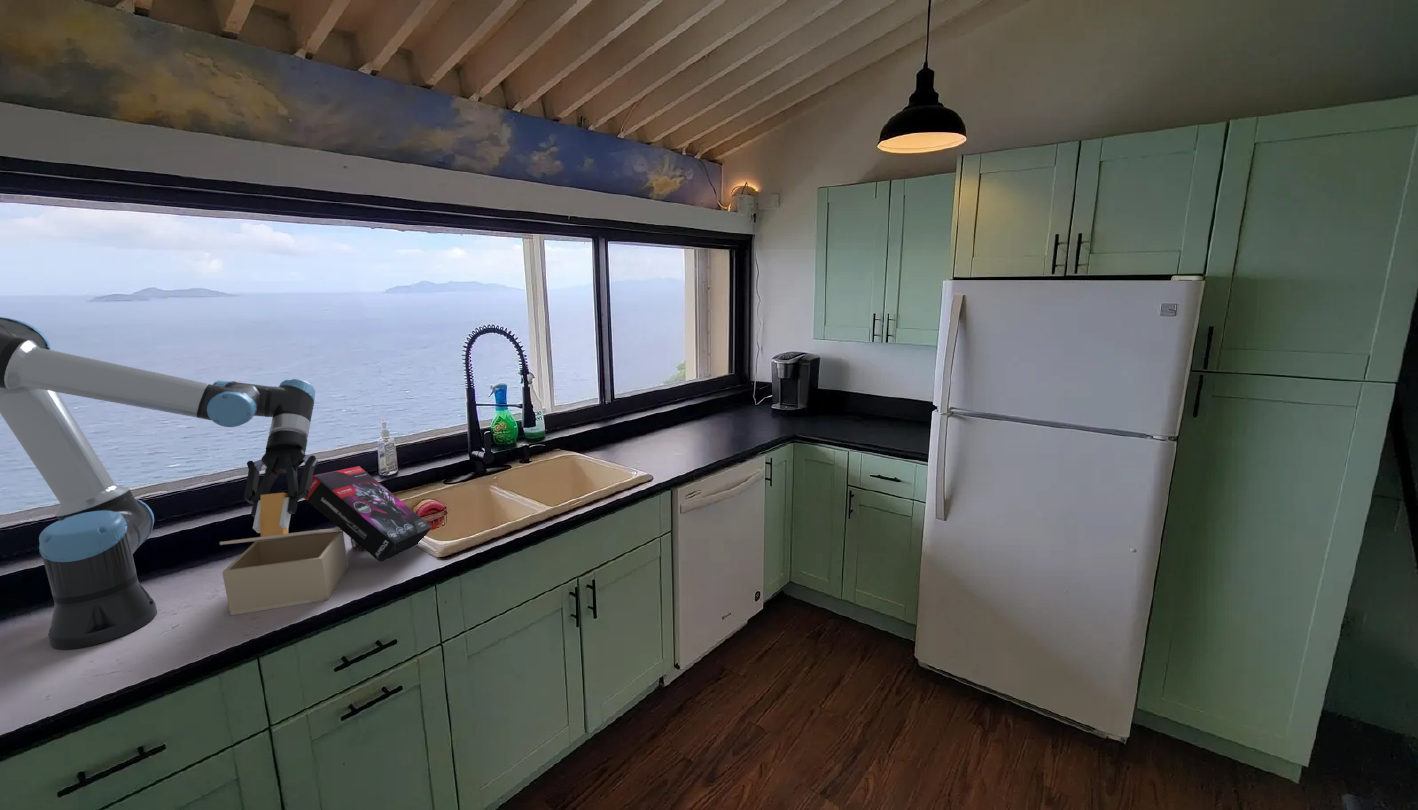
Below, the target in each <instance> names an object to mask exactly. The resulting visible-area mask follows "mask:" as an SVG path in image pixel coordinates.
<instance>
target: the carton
mask: <svg viewBox="0 0 1418 810" xmlns="http://www.w3.org/2000/svg"><path fill="white" fill-rule="evenodd" d="M346 551H347V549H346V543H345V537H344V532H343V531H342V530H341V531H333V532H325V533H317V534H309V535H301V536H293V537H285V538H277V539H269V540H261V541H253V543H252V544H251V545H250V546H249V547H248V548H247V549H245V551H243V552H242V553H241V554H240V555H239V556H238V557H237V558H236V559H235V560H234V561H232V562H231V563H230V564H229V565H228V566H227V567H226V568H225V569H224V570H223V571H222V572H221V574H222V578H223V584H224V589H225V594H226V598H227V604H228V609H229V614H230V616H235V615H241V614H248V613H253V612H260V611H266V610H273V609H279V608H287V607H292V606H298V605H303V604H304V605H306V604H310V603H311V604H312V603H317V602H323V601H329V600H330V597H332V596H333V593H334V592H335V590H336V589H337V587H338V585H339V584H340V582H341V580H342V579H343V578H344V576H345V574H346V573H347V571H348V569H349V563H348V557H347V556H348V555H347V552H346Z"/></svg>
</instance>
